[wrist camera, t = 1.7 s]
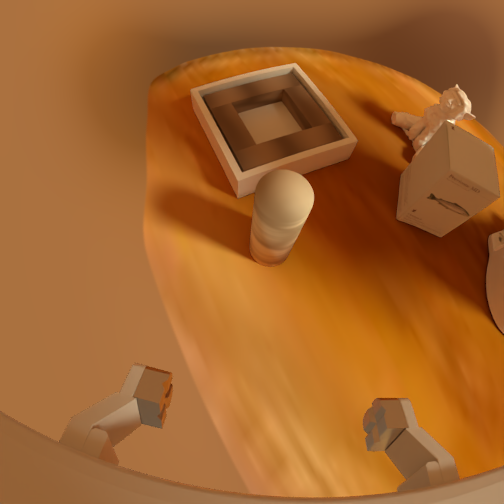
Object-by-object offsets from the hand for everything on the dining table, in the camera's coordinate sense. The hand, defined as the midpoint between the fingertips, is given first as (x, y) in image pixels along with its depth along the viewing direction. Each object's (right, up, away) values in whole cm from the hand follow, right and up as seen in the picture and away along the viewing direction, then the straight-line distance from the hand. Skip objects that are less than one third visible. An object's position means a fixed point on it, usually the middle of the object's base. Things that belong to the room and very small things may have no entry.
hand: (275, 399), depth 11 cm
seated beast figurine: (+25, +23, +30) cm, 45 cm away
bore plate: (+1, +22, +27) cm, 35 cm away
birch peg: (+1, +6, +23) cm, 24 cm away
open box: (+1, +22, +28) cm, 35 cm away
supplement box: (+21, +12, +26) cm, 36 cm away
